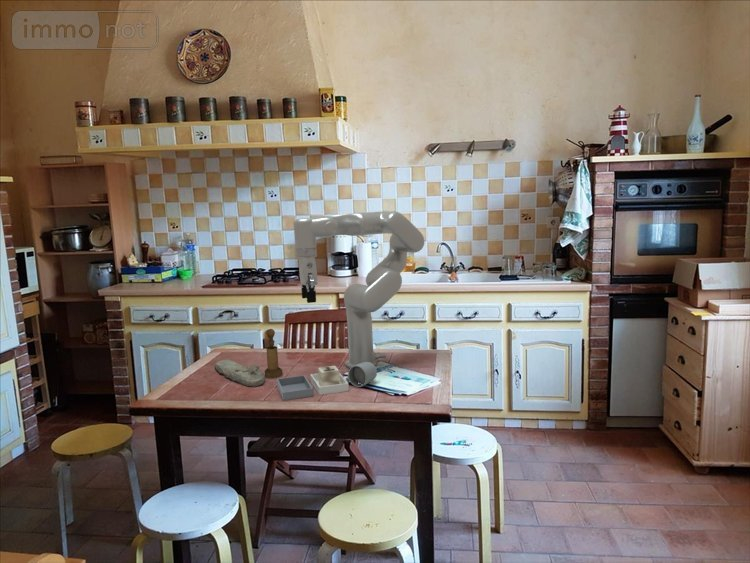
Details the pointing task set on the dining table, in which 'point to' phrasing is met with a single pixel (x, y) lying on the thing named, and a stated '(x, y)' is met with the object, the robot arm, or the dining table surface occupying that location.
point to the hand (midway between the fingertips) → (309, 300)
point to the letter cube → (328, 376)
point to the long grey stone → (241, 372)
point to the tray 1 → (294, 387)
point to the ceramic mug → (362, 374)
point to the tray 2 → (332, 388)
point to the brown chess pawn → (272, 358)
